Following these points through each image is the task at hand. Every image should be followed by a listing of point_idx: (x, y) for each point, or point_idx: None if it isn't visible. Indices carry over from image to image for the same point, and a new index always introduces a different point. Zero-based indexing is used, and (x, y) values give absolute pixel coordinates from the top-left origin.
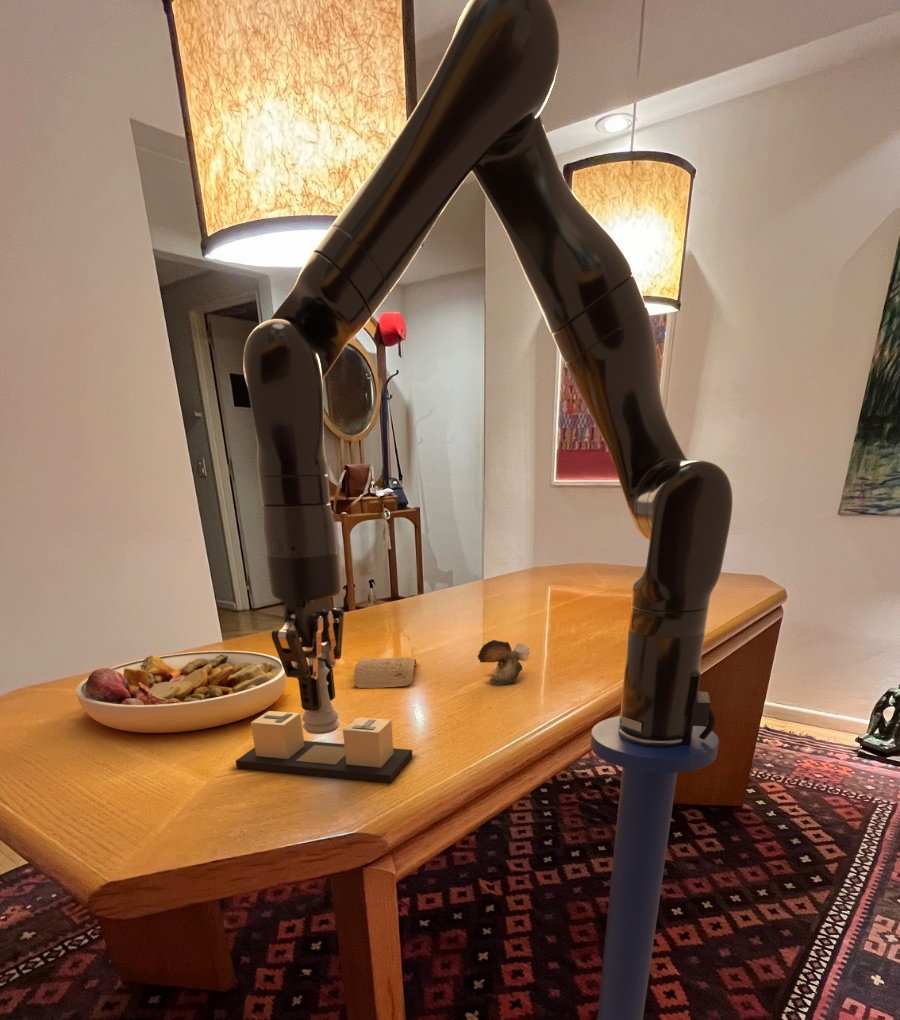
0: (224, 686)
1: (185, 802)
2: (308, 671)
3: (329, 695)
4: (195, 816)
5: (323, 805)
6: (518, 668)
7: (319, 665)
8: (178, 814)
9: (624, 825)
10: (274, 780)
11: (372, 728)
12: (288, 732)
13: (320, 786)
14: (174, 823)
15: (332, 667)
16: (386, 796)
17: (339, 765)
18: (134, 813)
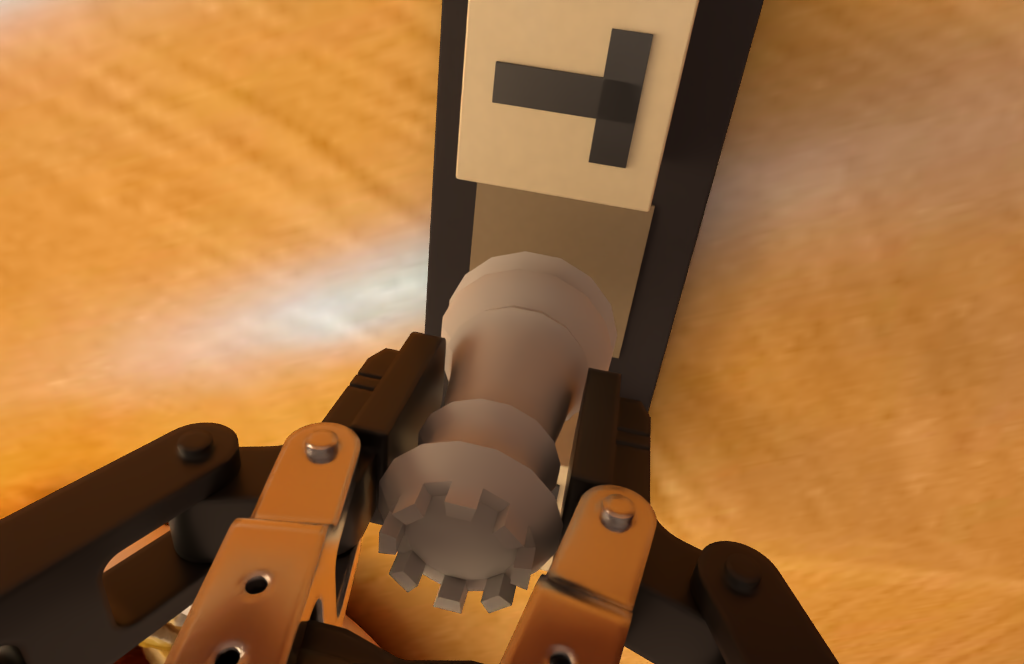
0: (129, 659)
1: (862, 570)
2: (755, 579)
3: (439, 362)
4: (974, 530)
5: (979, 168)
6: None
7: (503, 525)
8: (948, 569)
9: None
10: (716, 387)
11: (642, 41)
12: (563, 436)
13: (784, 224)
14: (1012, 565)
15: (356, 434)
16: None
17: (658, 187)
18: (916, 652)
